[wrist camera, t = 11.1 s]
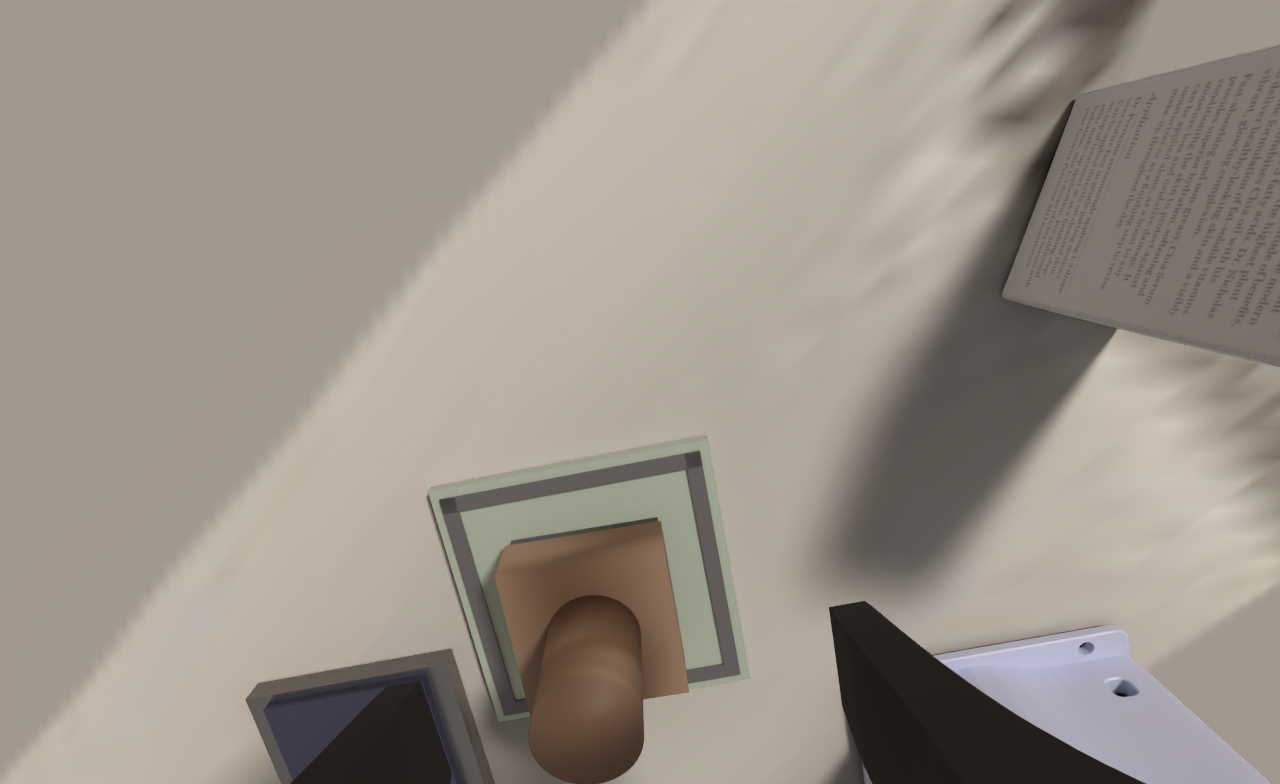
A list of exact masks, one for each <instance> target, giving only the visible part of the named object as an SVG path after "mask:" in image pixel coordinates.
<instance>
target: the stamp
mask: <svg viewBox="0 0 1280 784" xmlns="http://www.w3.org/2000/svg"><path fill="white" fill-rule="evenodd" d="M494 577H495V581H496V585H497V589H498V593H499V597H500V600H501V604H502V608H503V612H504V616H505V620H506V624H507V628H508V631H509V635H510V639H511V643H512V647H513V651H514V655H515V659H516V662H517V666H518V670H519V674H520V678H521V682H522V686H523V690H524V693H525V697H526V701H527V705H528V709H529V713H530V716H532V718H531V723H530V729H529V745H530V749H531V752H532V754H533V756H534V758H535V759H536V761H537V762H538V764H539V765H540V766H541V767H542V768H543V769H544V770H546V771H547V772H548V773H549V774H551V775H553V776H554V777H556V778H558V779H561V780H563V781H566V782H570V783H574V784H599V783H604V782H607V781H610V780H613V779H615V778H617V777H619V776H620V775H622V774H624V773H625V772H626V771H628V770H629V769H630V768H631V767H632V766H633V765H634V763H635V762H636V761H637V759H638V757H639V756H640V754H641V751H642V748H643V743H644V721H643V699H648V698H655V697H661V696H668V695H674V694H681V693H687V692H689V688H688V680H687V672H686V664H685V655H684V649H683V644H682V638H681V632H680V627H679V621H678V615H677V610H676V604H675V598H674V593H673V587H672V581H671V576H670V570H669V564H668V559H667V553H666V547H665V542H664V536H663V530H662V525H661V521H658V517H655V518H648V519H642V520H636V521H630V522H623V523H617V524H611V525H605V526H598V527H592V528H586V529H580V530H574V531H567V532H561V533H555V534H549V535H542V536H536V537H530V538H524V539H518V540H512V541H511V544H510V545H507V546H505V548H504V551H503V553H502V556H501V559H500V562H499V565H498V567H497V570H496V573H495V576H494Z"/></svg>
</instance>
